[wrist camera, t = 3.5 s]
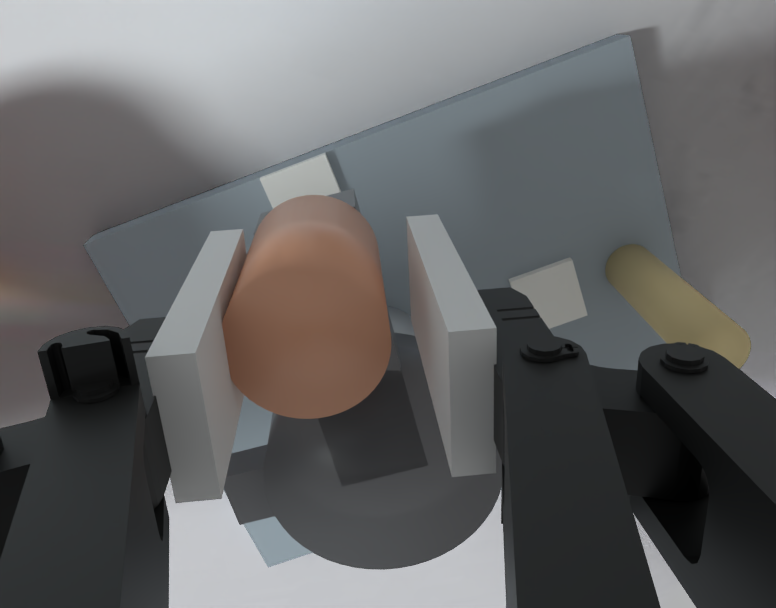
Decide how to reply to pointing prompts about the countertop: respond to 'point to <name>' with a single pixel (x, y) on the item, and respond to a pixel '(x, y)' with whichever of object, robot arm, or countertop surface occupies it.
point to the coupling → (339, 399)
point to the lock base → (474, 219)
